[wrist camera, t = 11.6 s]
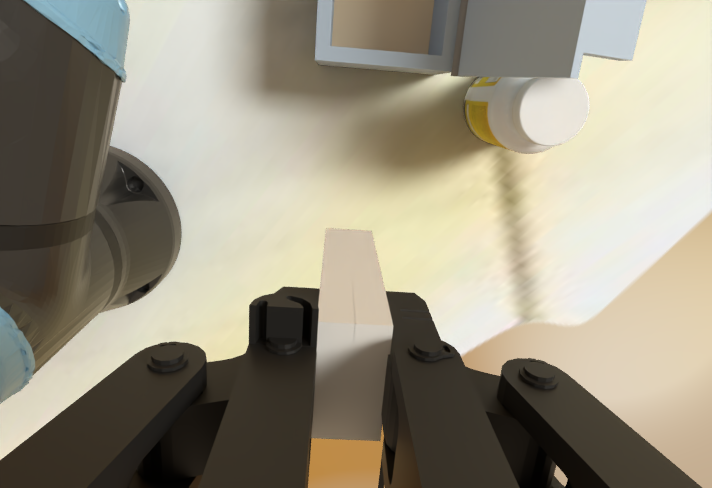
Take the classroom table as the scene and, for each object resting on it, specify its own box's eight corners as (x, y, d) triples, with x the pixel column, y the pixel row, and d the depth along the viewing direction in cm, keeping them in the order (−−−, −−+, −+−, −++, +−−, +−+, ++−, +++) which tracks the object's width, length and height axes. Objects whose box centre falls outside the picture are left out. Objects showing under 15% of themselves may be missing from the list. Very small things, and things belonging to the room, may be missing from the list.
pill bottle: (497, 157, 43) (552, 180, 32) (445, 111, 42) (483, 118, 31) (549, 99, 42) (624, 103, 31) (497, 49, 40) (556, 34, 29)
